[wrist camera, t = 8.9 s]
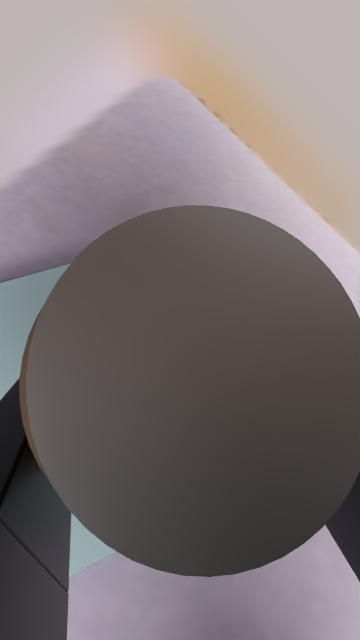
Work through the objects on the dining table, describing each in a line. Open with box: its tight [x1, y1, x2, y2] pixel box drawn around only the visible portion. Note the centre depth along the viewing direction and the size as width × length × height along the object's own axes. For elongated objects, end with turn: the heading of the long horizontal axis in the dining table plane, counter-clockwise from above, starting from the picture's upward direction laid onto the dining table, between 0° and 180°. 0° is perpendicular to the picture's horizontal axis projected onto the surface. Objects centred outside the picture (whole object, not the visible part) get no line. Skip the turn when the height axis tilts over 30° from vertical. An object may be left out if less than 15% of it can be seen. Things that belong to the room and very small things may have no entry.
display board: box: [0, 263, 116, 577], centre depth 16 cm, size 16×16×3 cm
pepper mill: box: [19, 206, 360, 577], centre depth 9 cm, size 5×5×13 cm
